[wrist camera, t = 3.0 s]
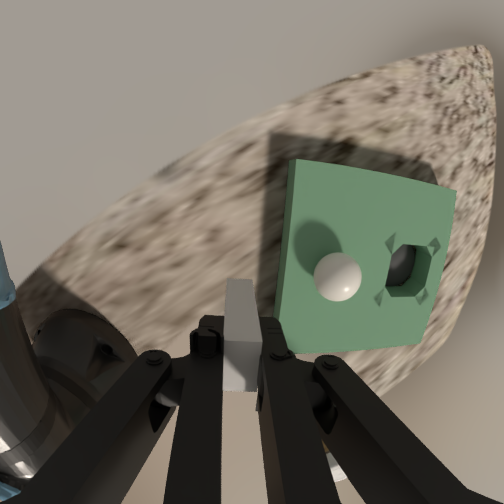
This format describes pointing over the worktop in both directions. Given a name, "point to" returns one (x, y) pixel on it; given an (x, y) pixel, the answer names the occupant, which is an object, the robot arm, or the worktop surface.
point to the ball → (337, 276)
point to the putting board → (360, 256)
